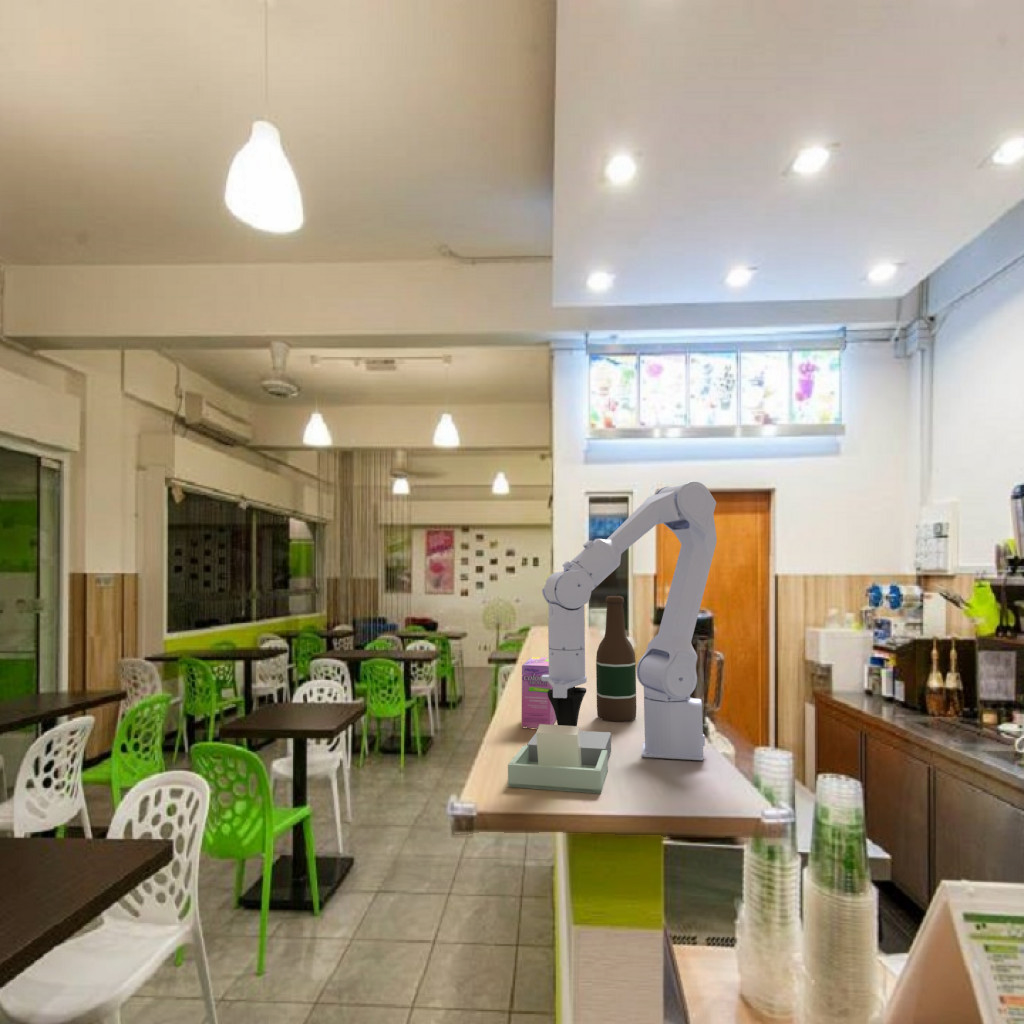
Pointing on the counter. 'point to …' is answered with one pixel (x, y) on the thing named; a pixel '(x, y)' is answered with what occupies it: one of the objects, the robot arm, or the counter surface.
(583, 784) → the bin
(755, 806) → the counter surface
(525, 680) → the box
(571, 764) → the tile
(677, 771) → the counter surface
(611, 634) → the beer bottle
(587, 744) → the bench plate
